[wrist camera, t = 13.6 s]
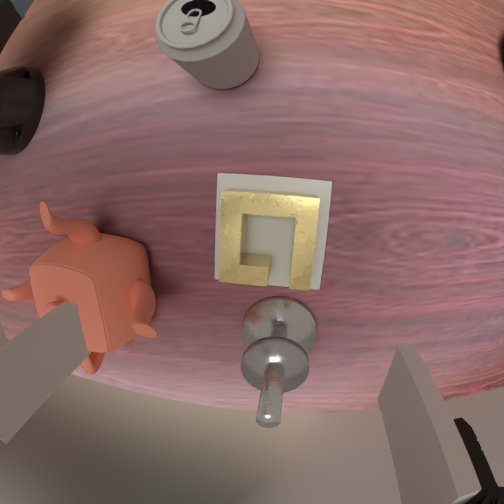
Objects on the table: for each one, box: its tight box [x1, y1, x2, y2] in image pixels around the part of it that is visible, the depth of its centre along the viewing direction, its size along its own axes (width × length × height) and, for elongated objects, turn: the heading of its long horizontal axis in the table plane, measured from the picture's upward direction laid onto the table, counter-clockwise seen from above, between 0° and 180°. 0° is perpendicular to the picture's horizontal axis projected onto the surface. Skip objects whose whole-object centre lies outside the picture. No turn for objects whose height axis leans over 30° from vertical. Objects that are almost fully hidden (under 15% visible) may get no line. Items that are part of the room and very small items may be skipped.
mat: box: [215, 173, 332, 290], centre depth 32 cm, size 12×12×1 cm
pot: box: [1, 201, 158, 374], centre depth 31 cm, size 18×17×12 cm
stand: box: [241, 296, 317, 428], centre depth 28 cm, size 9×9×15 cm
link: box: [219, 188, 320, 291], centre depth 29 cm, size 9×9×4 cm
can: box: [155, 0, 259, 89], centre depth 21 cm, size 8×8×12 cm
